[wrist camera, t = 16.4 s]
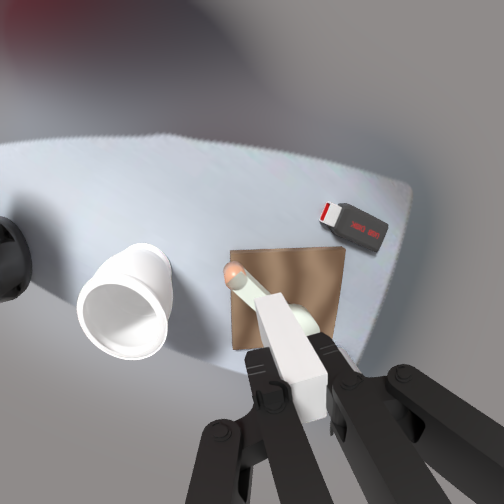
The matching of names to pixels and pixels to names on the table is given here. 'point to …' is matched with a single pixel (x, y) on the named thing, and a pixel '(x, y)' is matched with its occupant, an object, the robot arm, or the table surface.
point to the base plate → (289, 286)
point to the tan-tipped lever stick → (262, 294)
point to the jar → (128, 303)
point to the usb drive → (354, 225)
